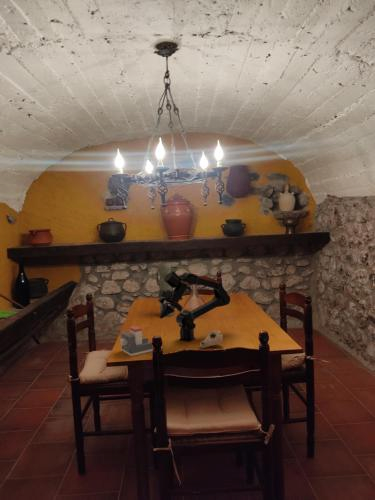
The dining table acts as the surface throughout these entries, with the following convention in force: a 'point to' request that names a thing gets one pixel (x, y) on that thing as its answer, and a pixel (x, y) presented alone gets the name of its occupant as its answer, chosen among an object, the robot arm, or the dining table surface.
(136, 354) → the board
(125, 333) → the grey toy building
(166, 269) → the thermos
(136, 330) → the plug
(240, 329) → the dining table surface
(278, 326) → the dining table surface
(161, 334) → the dining table surface
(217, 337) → the pottery oil lamp
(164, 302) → the robot arm
